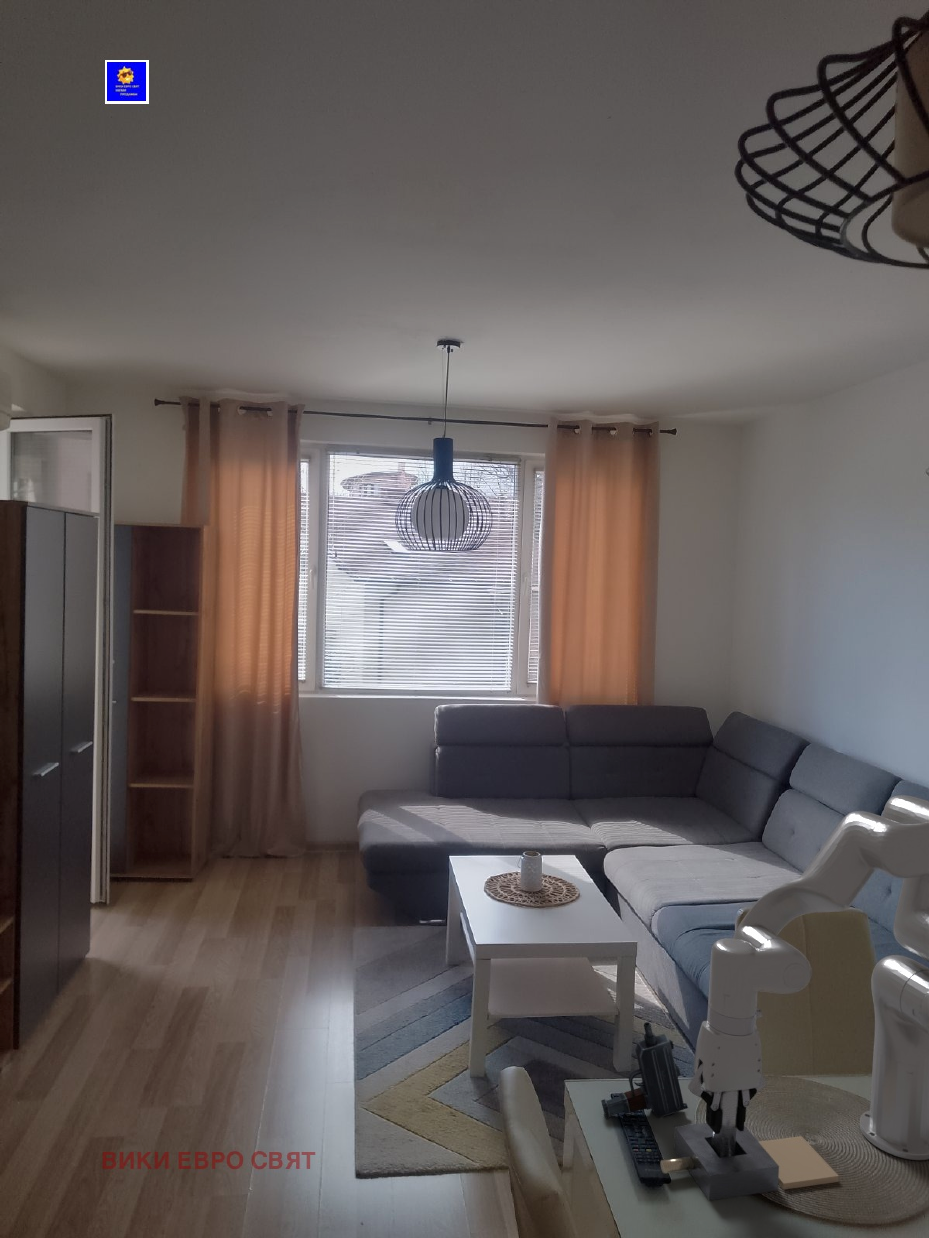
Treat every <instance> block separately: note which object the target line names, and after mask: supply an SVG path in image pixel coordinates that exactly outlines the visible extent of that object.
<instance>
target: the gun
mask: <svg viewBox="0 0 929 1238" xmlns="http://www.w3.org/2000/svg"><path fill="white" fill-rule="evenodd" d="M643 1027H644V1028H643V1029H644V1032H645V1034H644V1035H643V1038H644V1039H642V1040H639V1041H637V1043H636V1046H635V1048H634V1049H635V1056H636V1060H637V1064H638V1069H635V1070H633V1071H631V1073H630V1074H629V1076H628V1083H629V1088H630V1090H629V1091H626V1092H625V1091H624V1092H620V1093H619V1096H617V1097H614V1098H611V1099H608V1100H606V1098H604V1099H601V1100H600V1101H601V1106H602V1110H603V1114H604V1116H605V1118H606V1119H610V1118H611V1117H612V1116H615V1115H618V1114H621V1113H624V1114H625V1115H626V1117H630V1116H631V1115H632V1114H633V1113H631V1112H634V1113H637V1112H638V1111H643V1110H652V1112H653V1113H654V1115H655V1116H656V1117H657V1119H659V1118H662V1117H665V1116H668V1115H671V1114H674V1113H677V1112H680V1111H684V1110H686V1109H688V1108H689V1107H688V1104H687V1103H686V1102H685V1103H684V1098H683V1094H682V1090H681V1085H680V1080H679V1077H680V1076H681V1074H682V1073H681V1071H680V1070H681V1069H680V1068H679V1066H678V1065H677V1064H676V1063H675V1058H674V1054H673V1049H674V1048H675V1047H674V1043H673V1040H671V1039H669V1038H668V1036H667V1035H666V1034H665V1033H662V1034H658V1035H656V1034H655V1033H654V1032H653V1030H652V1025H651V1023H650V1022H648V1021H646V1022H644V1023H643ZM639 1075H640V1076H641V1082H636V1081H634V1082H633V1080H634V1078H635V1077H636V1076H639ZM634 1085H635V1086H636V1087H637V1088H634ZM623 1111H624V1112H623ZM626 1113H631V1114H626Z"/></svg>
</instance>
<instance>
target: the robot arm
mask: <svg viewBox="0 0 929 1238" xmlns="http://www.w3.org/2000/svg"><path fill="white" fill-rule="evenodd" d="M876 870H877V871H879V872H881V873H884V874H886V875H888V876H890V877H893V878H898V879H902V885H901V887H900V893H899V897H898V902H897V906H896V909H895V910H896V911H895V914H894V919H893V928H892V929H893V936H894V939H895V940H896V941H897V943H898V944H899V945H900V946H901V947H903V948H904V949H905V950H907V951H909V952H911V953H912V954H914V955H915V956H917V957H919V958H921V959H923V960H924V961H926V962H927V963H929V800H926V799H923V798H919V797H915V796H911V795H904V794H900V795H899V794H897V795H895V796H892V797H890V798H889V799H888V800H887V802H886V803H885V806H884V808H883V816H881V815H879V814H875V813H874V812H869V811H865V810H856V811H855V810H854V811H851V812H849V813H848V814H846V815H845V816H843V818H842V819H841V820H840V822H839V823H838V824H837V826H836V827H835V829H834V830H833V831H832V833H831V834H830V836H829V837H828V838H827V839H826V841H825V843H824V844H823V845H822V847H821V848H820V849H819V851H818V852H817V854H815V857H814V858H813V859H812V861H810V863H809V864H808V866H807V868H806V869H805V870H804V872H803V873H802V874H800V876H798V877H796V878H795V879H791V880H790V881H787V882H785V883H783V884H781V885H779V886H777V887H776V888H773V889H772V890H770V891H768V892H767V893H766V894H763V895H762V896H761V897H760V898H759V899H758V900H756V901H755V903H754V904H753V905H752V906H751V907H750V909H749V910H748V911H747V913H746V915H745V916H744V917H743V919H742V920H741V921H740V922H739V924H738V926H737V927H736V929H735V932H734V935H733V937H732V938H728V937H725V938H721V939H718V940H717V941H715V942H714V943H713V944H712V947H711V950H710V952H711V953H710V964H709V983H708V985H709V986H708V997H707V998H708V1001H707V1002H708V1004H707V1017H706V1018H707V1019H706V1020H703V1021H702V1022H701V1025H700V1029H699V1032H698V1036H697V1040H696V1046H695V1053H694V1060H693V1076H692V1078H691V1080H690V1081H689V1083H688V1085H687V1089H688V1090H689V1091H690V1092H691V1094H693V1095H695V1096H697V1098H701V1099H702V1100H703V1102H704V1103H706V1107H705V1109H706V1110H705V1123H707V1124H708V1125H709V1126H710V1128H711V1129H712V1130H713V1131H714V1133H715V1134H719V1133H720V1127H721V1110H720V1109H719V1108H718V1107H719V1102H720V1097H721V1092H725V1091H734V1090H739V1094H738V1111H737V1129H738V1130H739V1131H744V1126H745V1123H746V1120H747V1119H746V1118H747V1117H746V1115H747V1108H748V1107H749V1106H750V1105H751V1100H752V1099H753V1098H754V1097H755V1096H756V1095H757V1093H758V1092H759V1091H761V1090H762V1089H763V1088H764V1087H766V1086H767V1084H768V1083H767V1080H766V1078H765V1076H764V1075H763V1073H762V1062H763V1061H762V1045H761V1038H760V1033H759V1027H757V1019H760V1018H762V1017H763V1012H762V1009H760V1008H757V1006H758V992H765V993H774V994H780V995H781V994H783V995H784V994H785V995H787V994H788V995H789V994H794V993H799V992H800V991H802V990H804V988H806V987H807V986H808V984H809V983H810V980H811V978H812V967H811V963H810V962H809V960H808V958H807V957H806V955H805V954H804V953H803V952H802V951H800V950H799V949H798V948H796V947H795V946H793V945H792V944H790V943H789V942H787V941H786V940H784V938H781V937H780V936H778V935H779V934H780V933H781V931H782V930H783V929H784V927H786V926H787V925H788V924H789V923H791V922H792V921H793V920H795V919H797V918H799V917H801V916H803V915H807V914H813V913H815V914H816V913H831V912H832V913H833V912H834V913H836V912H844V911H846V910H848V909H849V908H850V906H851V905H852V904H853V903H854V901H855V899H856V898H857V897H858V896H859V894H860V892H861V891H862V890H863V888H864V887H865V885H866V884H867V883H868V882H869V879H871V877H872V875H873V874H875V871H876ZM870 986H871V987H870V988H871V994H872V1000H873V1008H874V1040H873V1054H872V1057H873V1058H872V1073H871V1075H872V1076H871V1087H870V1088H871V1089H870V1091H871V1092H870V1107H869V1110H866V1111H865V1112H863V1113H862V1114H861V1116H860V1118H859V1128H860V1131H861V1133H862V1135H863V1136H864V1137H865V1139H866V1140H868V1141H869V1142H870V1143H871V1144H872V1145H874V1146H875V1147H877V1148H878V1149H880V1150H881V1151H884V1152H886V1153H887V1154H889V1155H892V1156H895V1157H898V1158H902V1159H906V1160H911V1161H926V1160H929V967H928V966H926V965H925V964H922V963H921V962H918V961H917V960H915V959H912V958H911V957H908V956H905V955H900V954H892V955H891V954H889V955H887V956H884V957H883V958H881V959H880V960H878V962H877V963H876V965H875V966H874V968H873V970H872V973H871V979H870ZM703 1084H704V1087H702V1086H703Z"/></svg>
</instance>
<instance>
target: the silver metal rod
mask: <svg viewBox="0 0 929 1238" xmlns="http://www.w3.org/2000/svg"><path fill="white" fill-rule="evenodd" d="M738 1094H739V1090H734V1091H725V1092H721V1097H720V1102H719V1107H718V1108H719V1109H720V1110H721V1127H720V1133H719V1134H715V1133H714V1131H713V1143H712V1149H713V1150H714V1152H715V1153H716V1154H717V1156H719V1157H721V1158H722V1157H730V1156H735V1145H736V1128H737V1111H738Z"/></svg>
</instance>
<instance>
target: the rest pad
mask: <svg viewBox="0 0 929 1238" xmlns="http://www.w3.org/2000/svg"><path fill="white" fill-rule="evenodd" d="M758 1142H759V1143H760V1144H761V1146H762V1147H763V1148H764V1149H765V1150H766V1151H767V1153H768V1154H769V1155H770V1156H771V1157H772V1159H773V1160H774V1161H775V1162H776V1163H777V1164H778V1166H779V1177H778V1186H780V1187H781V1189H782V1190H789V1189H798V1188H805V1187H810V1186H812V1187H813V1186H817V1185H826V1184H832V1183H833V1184H834V1183H838V1182H839V1178H840V1175H839V1174H838V1173H837V1172H836V1171H835V1170H834V1169H833V1168H832V1166H830V1165H829V1164H828V1162H826V1160H825V1159H824V1158H823V1157H822V1156H821V1155H820V1154H819V1153H818V1152H817V1150H815V1149H814V1148H813V1146H811V1145H810V1144H809V1142H808V1141H807V1140H806V1139H805V1138H804V1137H803V1136H802V1135H801V1136H792V1137H784V1138H777V1139H768V1140H760V1141H758Z"/></svg>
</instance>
